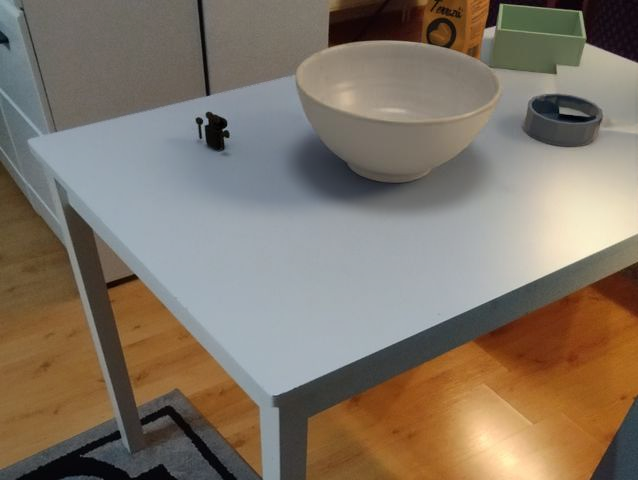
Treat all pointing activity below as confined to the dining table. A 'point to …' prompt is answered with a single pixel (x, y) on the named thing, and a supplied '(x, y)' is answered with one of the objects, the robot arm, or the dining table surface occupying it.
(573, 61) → the tub
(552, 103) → the blue-grey round shallow container
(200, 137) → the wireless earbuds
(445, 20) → the coffee package
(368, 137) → the decorative bowl
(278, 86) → the dining table surface
